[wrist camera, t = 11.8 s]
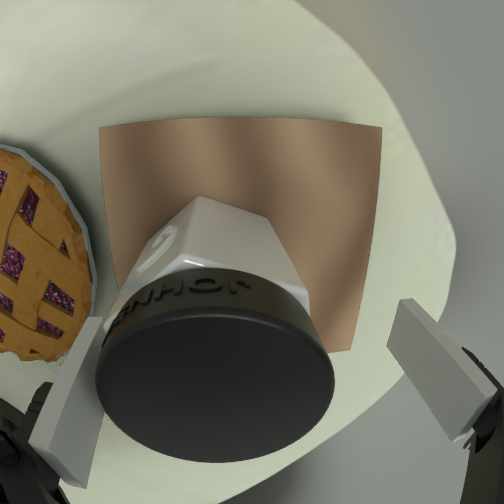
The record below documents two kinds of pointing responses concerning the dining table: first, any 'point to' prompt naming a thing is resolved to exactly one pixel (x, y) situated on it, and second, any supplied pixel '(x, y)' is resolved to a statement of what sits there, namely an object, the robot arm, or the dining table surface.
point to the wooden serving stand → (255, 195)
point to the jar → (214, 342)
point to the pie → (41, 262)
